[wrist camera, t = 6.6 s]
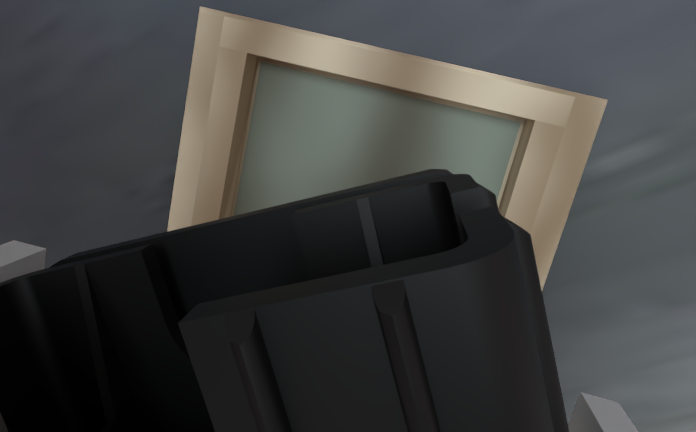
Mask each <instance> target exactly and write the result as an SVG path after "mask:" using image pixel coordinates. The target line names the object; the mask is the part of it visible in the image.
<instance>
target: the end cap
mask: <svg viewBox="0 0 696 432" xmlns="http://www.w3.org/2000/svg"><path fill="white" fill-rule="evenodd" d="M0 432H569V429H568V424H567V419H566V413H565V408H564V403H563V398H562V393H561V388H560V383H559V378H558V372H557V367H556V362H555V357H554V352H553V347H552V342H551V337H550V331H549V326H548V321H547V316H546V311H545V306H544V301H543V295H542V290H541V285H540V280H539V275H538V270H537V265H536V260H535V254H534V249H533V244H532V239H531V234H529V233H528V232H527V231H526V230H524V229H523V228H521V227H520V226H518V225H517V224H515V223H513V222H512V221H510V220H508V219H507V218H505V217H503V216H502V215H501V214H500V213H499V210H498V205H497V200H496V195H495V194H494V193H493V192H491V191H490V190H488V189H487V188H485V187H483V186H482V185H480V184H478V183H476V182H475V180H474V179H473V178H472V177H471V175H468V174H453V173H451V172H450V171H448V170H447V169H428V170H424V171H420V172H416V173H412V174H407V175H403V176H399V177H395V178H391V179H386V180H382V181H378V182H374V183H370V184H365V185H361V186H357V187H353V188H349V189H344V190H340V191H336V192H332V193H328V194H323V195H319V196H315V197H311V198H307V199H302V200H298V201H294V202H290V203H286V204H281V205H277V206H273V207H269V208H265V209H260V210H256V211H252V212H248V213H244V214H239V215H235V216H231V217H227V218H223V219H218V220H214V221H210V222H206V223H202V224H197V225H193V226H189V227H185V228H181V229H176V230H172V231H168V232H164V233H160V234H155V235H151V236H147V237H143V238H139V239H134V240H130V241H126V242H122V243H118V244H113V245H109V246H105V247H101V248H97V249H92V250H88V251H84V252H80V253H76V254H74V255H72V256H69V257H67V258H65V259H63V260H61V261H59V262H57V263H56V264H54V265H52V266H51V267H50V268H47V269H42V270H39V271H35V272H31V273H28V274H25V275H21V276H18V277H15V278H12V279H9V280H7V281H4V282H1V283H0Z"/></svg>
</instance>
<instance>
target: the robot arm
mask: <svg viewBox="0 0 696 432" xmlns="http://www.w3.org/2000/svg"><path fill="white" fill-rule="evenodd" d="M45 256H46V248H42V247H38V246H34V245H31V244H27V243H23V242H20V241H16V240H13V241H10V242H7V243H5V244H2V245H0V283H1V282H4V281H7V280H9V279H12V278H15V277H18V276H21V275H25V274H28V273H31V272H35V271H39V270H42V269H44V268H45ZM568 429H569V432H638V431H637V429H636V428H635V426H634V425H633V423H632V422H631V420H630V419H629V417H628V416H627V415H626V413H625V412H624V410H623V409H622V407H621V406H620V404H619V403H618V402H615V401H611V400H608V399H604V398H600V397H596V396H593V395H589V394H585V393H582V392H581V394H580V396H579V399H578V401H577V404H576V407H575V409H574V412H573V414H572V417H571V420H570V422H569V425H568Z"/></svg>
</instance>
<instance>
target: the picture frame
mask: <svg viewBox="0 0 696 432" xmlns="http://www.w3.org/2000/svg"><path fill="white" fill-rule="evenodd" d="M607 101H608V100H606V99H602V98H597V97H593V96H589V95H584V94H580V93H575V92H571V91H567V90H562V89H558V88H554V87H549V86H545V85H541V84H536V83H532V82H528V81H523V80H519V79H515V78H510V77H506V76H501V75H497V74H493V73H488V72H484V71H480V70H475V69H471V68H467V67H462V66H458V65H454V64H449V63H445V62H440V61H436V60H432V59H427V58H423V57H419V56H414V55H410V54H406V53H401V52H397V51H393V50H388V49H384V48H379V47H375V46H371V45H366V44H362V43H358V42H353V41H349V40H345V39H340V38H336V37H332V36H327V35H323V34H318V33H314V32H310V31H305V30H301V29H297V28H292V27H288V26H284V25H279V24H275V23H271V22H266V21H262V20H257V19H253V18H249V17H244V16H240V15H236V14H231V13H227V12H223V11H218V10H214V9H210V8H205V7H201V6H200V10H199V17H198V24H197V31H196V37H195V44H194V51H193V58H192V65H191V72H190V78H189V85H188V92H187V99H186V106H185V113H184V119H183V126H182V133H181V140H180V147H179V154H178V160H177V167H176V174H175V181H174V188H173V195H172V201H171V208H170V215H169V222H168V229H167V232H168V231H172V230H176V229H181V228H185V227H189V226H193V225H197V224H202V223H206V222H210V221H214V220H218V219H223V218H227V217H231V216H235V215H239V214H244V213H248V212H252V211H256V210H260V209H265V208H269V207H273V206H277V205H281V204H286V203H290V202H294V201H298V200H302V199H307V198H311V197H315V196H319V195H323V194H328V193H332V192H336V191H340V190H344V189H349V188H353V187H357V186H361V185H365V184H370V183H374V182H378V181H382V180H386V179H391V178H395V177H399V176H403V175H407V174H412V173H416V172H420V171H424V170H428V169H447V170H448V171H450V172H451V173H453V174H468V175H471V177H472V178H473V179H474V180H475V182H476V183H478V184H480V185H482V186H483V187H485V188H487V189H488V190H490V191H491V192H493V193H494V194H495V195H496V200H497V205H498V210H499V213H500V214H501V215H502V216H503V217H505V218H507V219H508V220H510V221H512V222H513V223H515V224H517V225H518V226H520V227H521V228H523V229H524V230H526V231H527V232H528V233H529V234H531V239H532V244H533V249H534V254H535V260H536V265H537V270H538V275H539V280H540V285H541V290H543V287H544V284H545V281H546V278H547V275H548V272H549V269H550V266H551V263H552V261H553V258H554V255H555V252H556V249H557V246H558V243H559V240H560V237H561V234H562V232H563V229H564V226H565V223H566V220H567V217H568V214H569V211H570V208H571V205H572V203H573V200H574V197H575V194H576V191H577V188H578V185H579V182H580V179H581V177H582V174H583V171H584V168H585V165H586V162H587V159H588V156H589V153H590V150H591V148H592V145H593V142H594V139H595V136H596V133H597V130H598V127H599V124H600V121H601V119H602V116H603V113H604V110H605V107H606V104H607Z"/></svg>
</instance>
